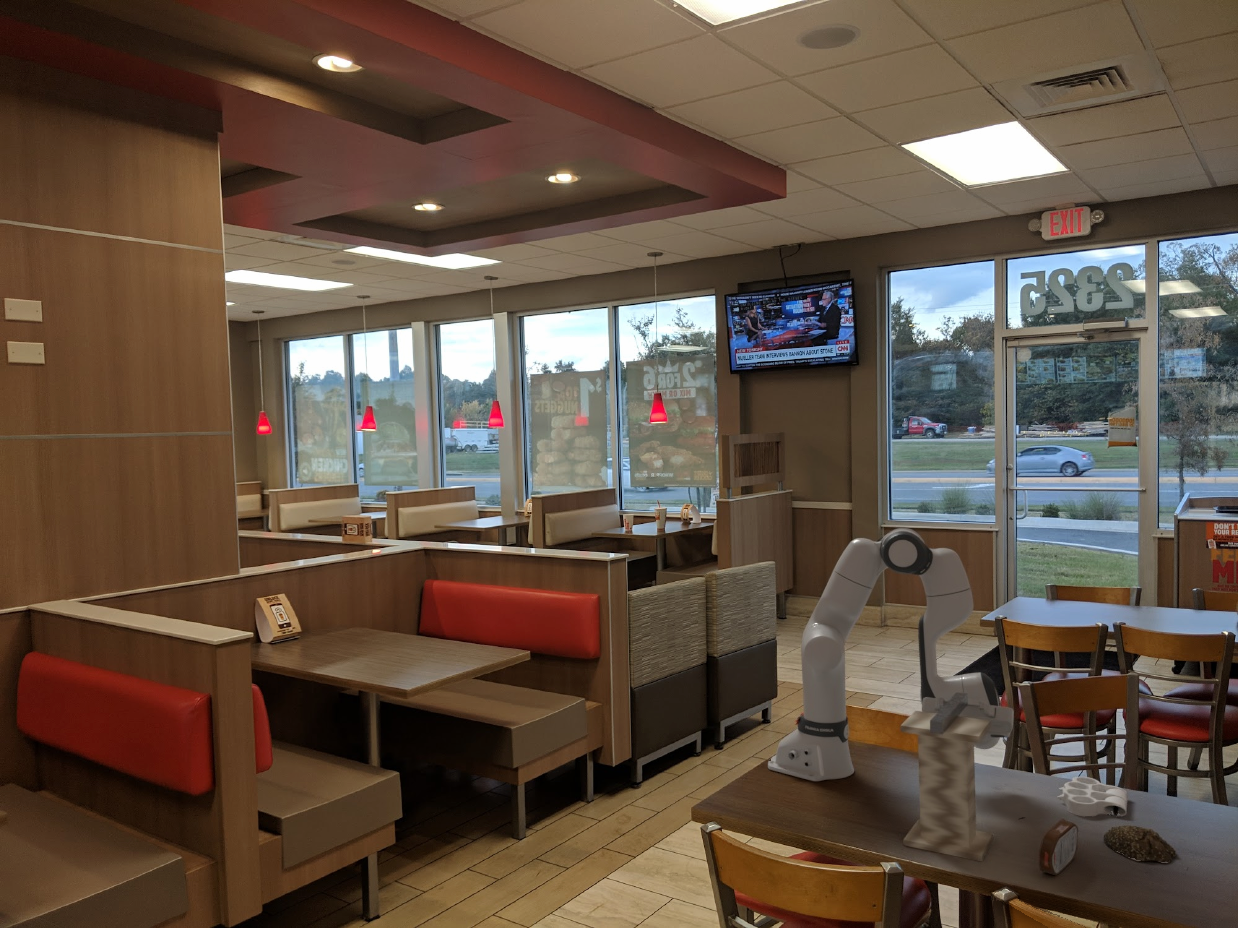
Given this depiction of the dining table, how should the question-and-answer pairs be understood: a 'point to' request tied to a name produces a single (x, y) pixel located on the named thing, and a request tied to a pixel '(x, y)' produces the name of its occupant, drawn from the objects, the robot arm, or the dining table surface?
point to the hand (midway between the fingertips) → (961, 703)
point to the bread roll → (1139, 843)
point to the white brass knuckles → (1092, 797)
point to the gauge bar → (948, 713)
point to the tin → (1058, 847)
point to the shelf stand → (947, 787)
